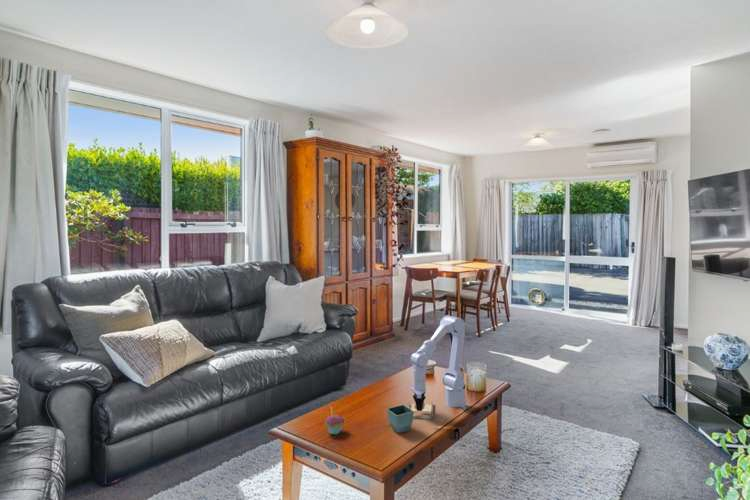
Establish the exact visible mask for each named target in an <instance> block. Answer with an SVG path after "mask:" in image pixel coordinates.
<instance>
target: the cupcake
mask: <svg viewBox="0 0 750 500" xmlns="http://www.w3.org/2000/svg"><path fill="white" fill-rule="evenodd" d="M344 425H345V419H344V417H343V416H341V415H339V414H334V411H333V407H330V415H329V416H327V417H326V418H325V419H324V426H325V427H326V428H327V429H328V430H327V431H328V434H330V435H333V434H335V435H339V434H340V433H341V431H342V428H343V426H344ZM338 433H339V434H338Z"/></svg>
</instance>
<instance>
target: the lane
mask: <svg viewBox="0 0 750 500" xmlns="http://www.w3.org/2000/svg"><path fill="white" fill-rule="evenodd" d="M409 409H411V410H413V411H417V410H416V409H415V407H414V403H410V405H409ZM417 412H418V411H417ZM421 412H431V403H430V404H427V403H425V407H424V409H423V410H422V411H421Z"/></svg>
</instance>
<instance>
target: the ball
mask: <svg viewBox="0 0 750 500" xmlns="http://www.w3.org/2000/svg"><path fill="white" fill-rule="evenodd" d="M413 404H414V407H415V409H416V410H417V408H416V403H415V401H414V403H413ZM425 404H426V403H425V401H424V402H423V407H422V410H423V409H424V407H425Z"/></svg>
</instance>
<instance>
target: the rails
mask: <svg viewBox="0 0 750 500" xmlns="http://www.w3.org/2000/svg"><path fill="white" fill-rule="evenodd" d="M410 404H411V403H410V401H409V400H407V406H406V407H408V408H409V405H410ZM430 404H431V411H430V413H431V414H430V415H429V414H413V420H414V419H415V420H416V419H417V420H419V419H420V420H422V419H423V420H434V410H433V409H434V407H433V405H434V403H433V401H431V402H430Z"/></svg>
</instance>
